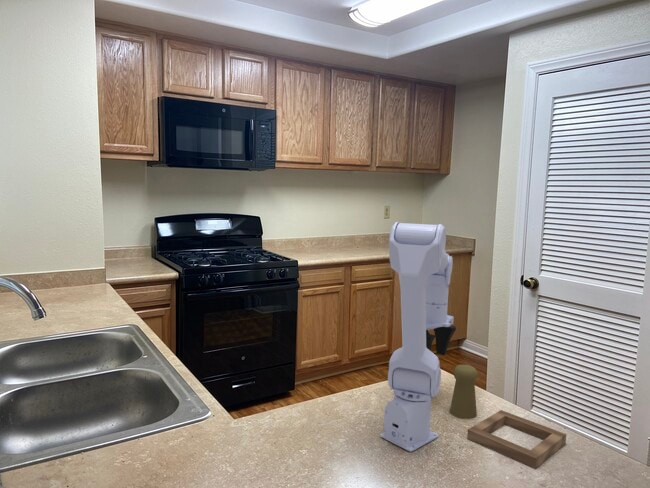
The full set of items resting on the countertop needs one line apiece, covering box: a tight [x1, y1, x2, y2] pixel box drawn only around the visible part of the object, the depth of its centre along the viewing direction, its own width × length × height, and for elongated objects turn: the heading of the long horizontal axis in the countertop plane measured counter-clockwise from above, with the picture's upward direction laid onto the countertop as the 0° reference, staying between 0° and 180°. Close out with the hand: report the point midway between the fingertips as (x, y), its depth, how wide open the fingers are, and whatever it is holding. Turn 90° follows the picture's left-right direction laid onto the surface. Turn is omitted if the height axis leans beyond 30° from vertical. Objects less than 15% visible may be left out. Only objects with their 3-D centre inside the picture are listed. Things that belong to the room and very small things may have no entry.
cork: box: [449, 364, 478, 420], centre depth 109 cm, size 6×6×11 cm
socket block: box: [466, 409, 567, 469], centre depth 97 cm, size 14×14×2 cm
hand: (432, 357), depth 116 cm, fingers open, 7 cm apart
